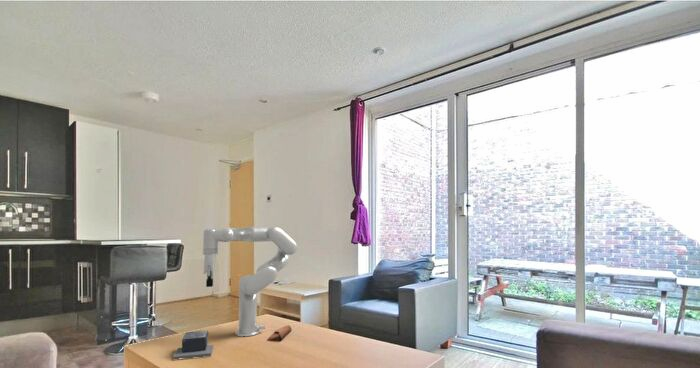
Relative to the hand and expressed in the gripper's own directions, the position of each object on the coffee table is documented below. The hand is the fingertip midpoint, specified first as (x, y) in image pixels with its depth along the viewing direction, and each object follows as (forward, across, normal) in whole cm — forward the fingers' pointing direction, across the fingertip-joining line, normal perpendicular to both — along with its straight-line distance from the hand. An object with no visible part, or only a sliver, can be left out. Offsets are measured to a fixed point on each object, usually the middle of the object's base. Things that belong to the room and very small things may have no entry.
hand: (209, 286), depth 199 cm
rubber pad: (+27, +22, -4) cm, 35 cm away
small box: (+22, +13, -4) cm, 26 cm away
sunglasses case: (+28, +6, +37) cm, 46 cm away
